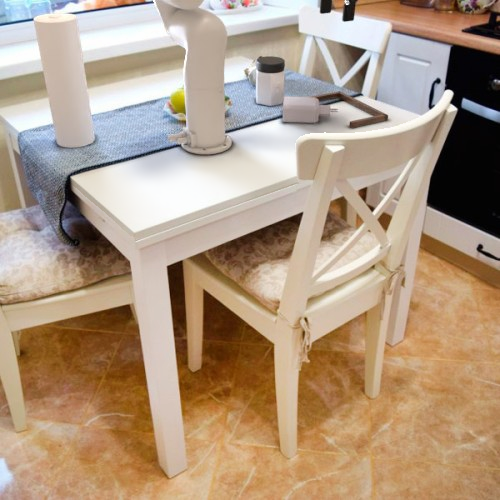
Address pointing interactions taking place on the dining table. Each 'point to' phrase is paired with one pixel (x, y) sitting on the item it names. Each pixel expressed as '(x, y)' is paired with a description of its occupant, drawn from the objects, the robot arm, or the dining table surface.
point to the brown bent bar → (377, 114)
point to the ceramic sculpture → (252, 73)
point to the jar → (270, 80)
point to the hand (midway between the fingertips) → (336, 16)
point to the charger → (304, 109)
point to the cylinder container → (65, 78)
